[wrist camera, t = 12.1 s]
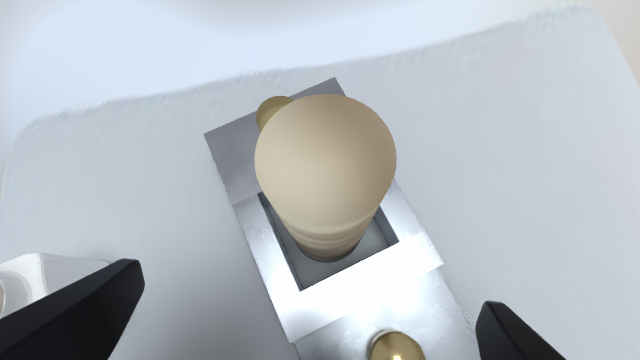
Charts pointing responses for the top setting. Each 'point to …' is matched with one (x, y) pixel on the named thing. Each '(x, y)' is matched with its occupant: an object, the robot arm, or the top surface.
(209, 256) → the top surface
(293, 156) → the pin
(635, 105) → the top surface
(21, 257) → the salt shaker
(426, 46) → the top surface
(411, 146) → the top surface
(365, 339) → the mounting plate
